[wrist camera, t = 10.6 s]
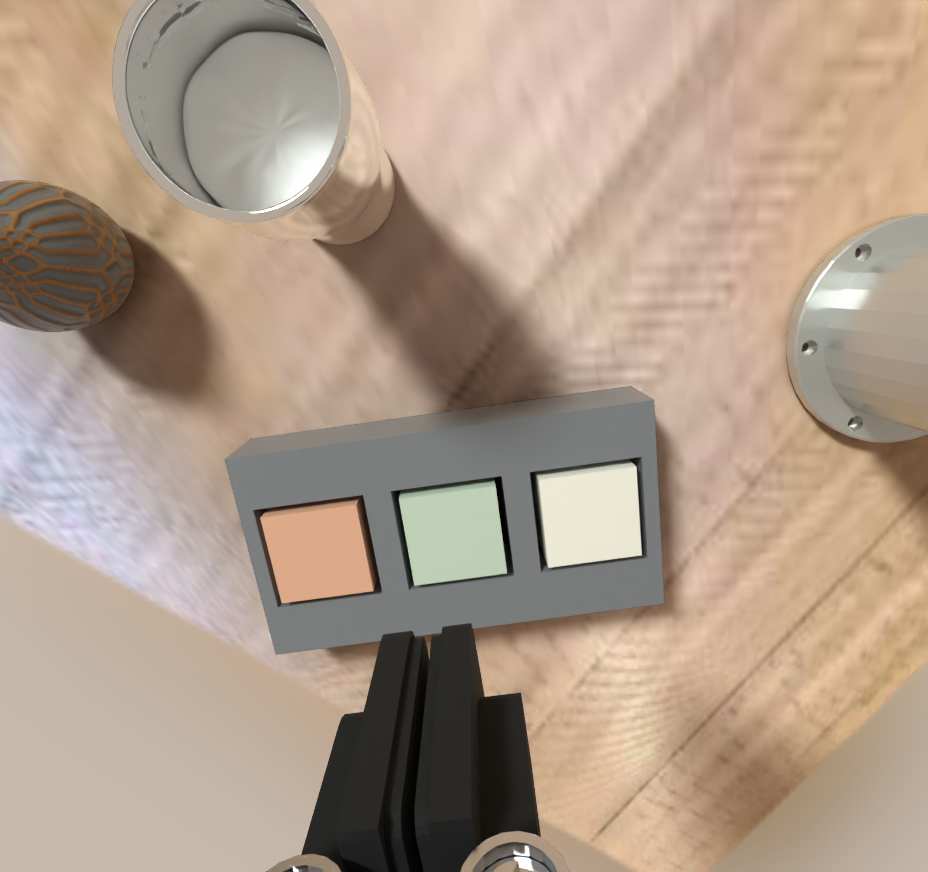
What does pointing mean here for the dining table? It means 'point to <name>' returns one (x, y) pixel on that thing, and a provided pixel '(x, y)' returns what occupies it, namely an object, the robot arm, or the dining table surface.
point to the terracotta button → (320, 548)
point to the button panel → (440, 462)
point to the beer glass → (253, 117)
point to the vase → (59, 259)
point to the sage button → (453, 531)
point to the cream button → (587, 512)
